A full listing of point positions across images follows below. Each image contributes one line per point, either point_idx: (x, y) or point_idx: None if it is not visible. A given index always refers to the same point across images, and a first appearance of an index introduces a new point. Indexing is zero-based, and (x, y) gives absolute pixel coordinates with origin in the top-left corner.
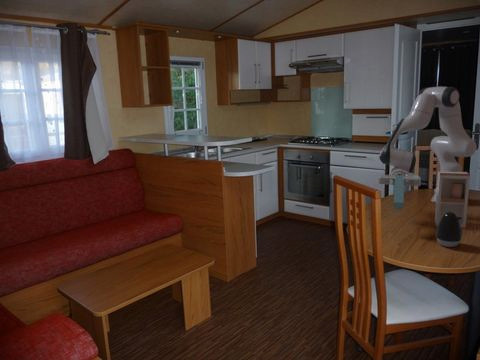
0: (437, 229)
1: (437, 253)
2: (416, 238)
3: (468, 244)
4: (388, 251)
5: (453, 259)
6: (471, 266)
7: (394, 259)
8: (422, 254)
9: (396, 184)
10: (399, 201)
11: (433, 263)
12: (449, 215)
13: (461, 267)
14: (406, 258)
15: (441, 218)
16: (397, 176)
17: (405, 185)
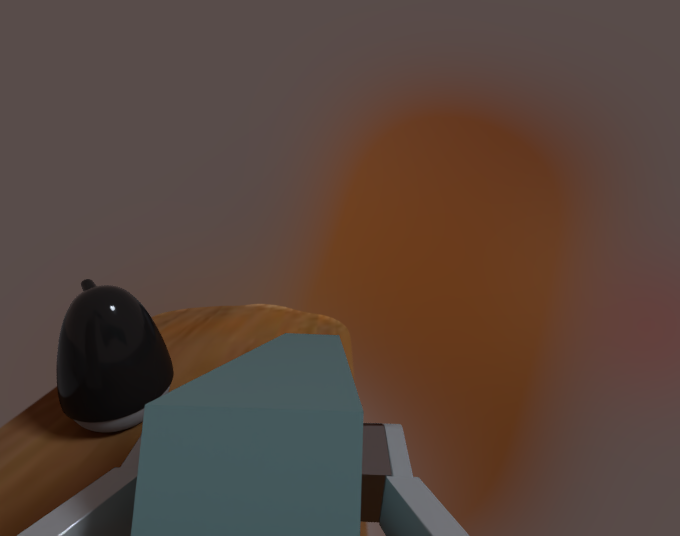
0: (164, 354)
1: (208, 353)
2: None
3: (27, 428)
4: (344, 348)
5: (185, 331)
6: (165, 312)
7: (329, 319)
8: (254, 344)
9: (329, 358)
10: (308, 335)
11: (245, 314)
12: (119, 287)
13: (191, 308)
14: (301, 325)
15: (141, 316)
16: (311, 399)
17: None
